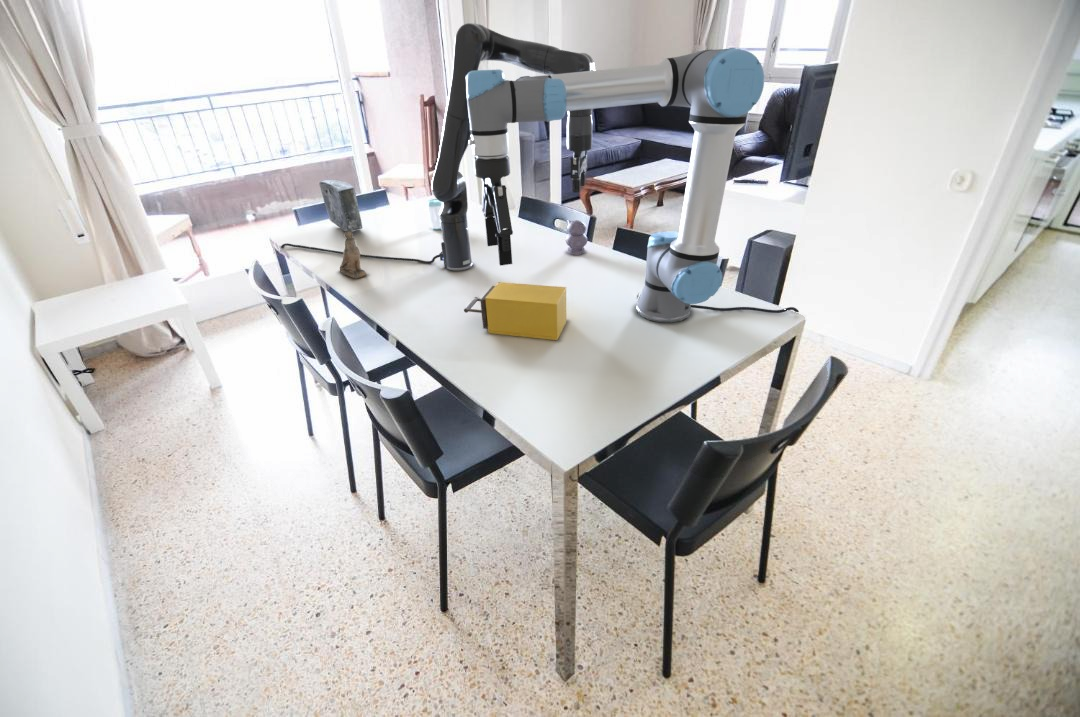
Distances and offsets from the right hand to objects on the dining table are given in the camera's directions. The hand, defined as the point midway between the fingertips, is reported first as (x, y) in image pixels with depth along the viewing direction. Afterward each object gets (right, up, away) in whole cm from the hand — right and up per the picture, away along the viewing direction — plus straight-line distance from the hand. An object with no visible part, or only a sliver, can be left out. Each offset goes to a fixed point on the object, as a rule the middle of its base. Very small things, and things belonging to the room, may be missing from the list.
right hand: (499, 254), depth 114 cm
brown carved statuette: (-58, +7, +65) cm, 87 cm away
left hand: (+21, +29, +41) cm, 54 cm away
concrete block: (-78, +35, +111) cm, 140 cm away
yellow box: (+6, -15, +25) cm, 30 cm away
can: (-36, +35, +109) cm, 120 cm away
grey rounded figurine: (+23, +17, +76) cm, 81 cm away
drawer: (+1, -14, +26) cm, 29 cm away
